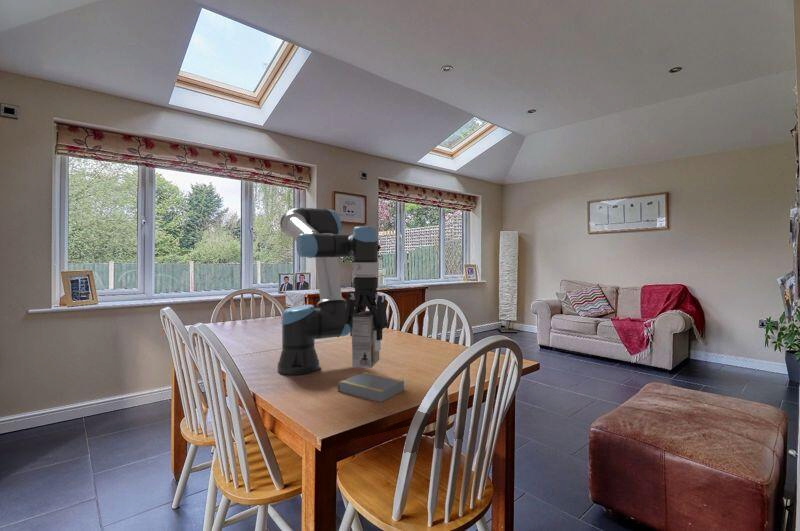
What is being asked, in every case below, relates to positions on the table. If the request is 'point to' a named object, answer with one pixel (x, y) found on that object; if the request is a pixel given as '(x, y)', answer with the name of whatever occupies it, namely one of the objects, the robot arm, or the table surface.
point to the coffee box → (363, 340)
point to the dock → (371, 386)
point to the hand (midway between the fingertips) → (366, 348)
